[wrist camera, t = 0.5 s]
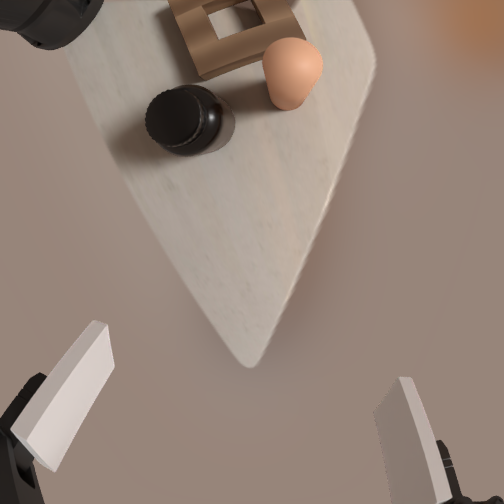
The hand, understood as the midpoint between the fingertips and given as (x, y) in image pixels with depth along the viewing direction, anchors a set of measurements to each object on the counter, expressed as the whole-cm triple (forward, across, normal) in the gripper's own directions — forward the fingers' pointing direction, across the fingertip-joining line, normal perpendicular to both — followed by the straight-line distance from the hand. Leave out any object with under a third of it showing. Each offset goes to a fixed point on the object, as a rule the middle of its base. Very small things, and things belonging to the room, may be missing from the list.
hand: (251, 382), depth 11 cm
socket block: (+25, -8, +23) cm, 35 cm away
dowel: (+25, -1, +15) cm, 29 cm away
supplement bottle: (+25, -9, +10) cm, 29 cm away
